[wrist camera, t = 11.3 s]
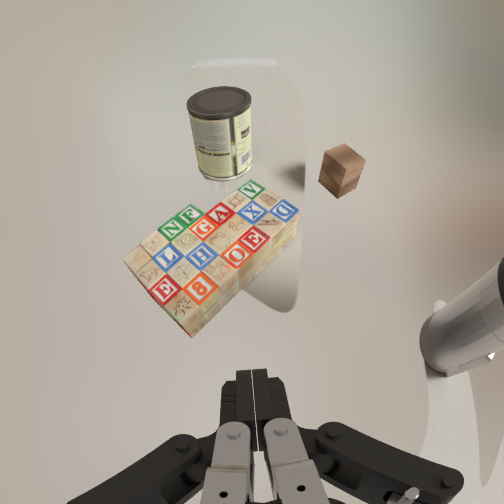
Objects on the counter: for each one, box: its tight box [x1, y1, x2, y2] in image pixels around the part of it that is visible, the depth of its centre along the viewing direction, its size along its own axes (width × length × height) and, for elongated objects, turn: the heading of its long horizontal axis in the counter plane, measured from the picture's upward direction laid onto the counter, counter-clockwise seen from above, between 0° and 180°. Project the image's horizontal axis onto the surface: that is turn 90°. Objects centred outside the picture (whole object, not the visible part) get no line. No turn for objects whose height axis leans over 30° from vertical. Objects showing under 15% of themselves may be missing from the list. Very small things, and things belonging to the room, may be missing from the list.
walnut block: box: [318, 144, 366, 199], centre depth 46 cm, size 5×5×7 cm
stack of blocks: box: [123, 179, 300, 338], centre depth 38 cm, size 21×6×12 cm
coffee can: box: [187, 86, 252, 181], centre depth 46 cm, size 10×10×14 cm
